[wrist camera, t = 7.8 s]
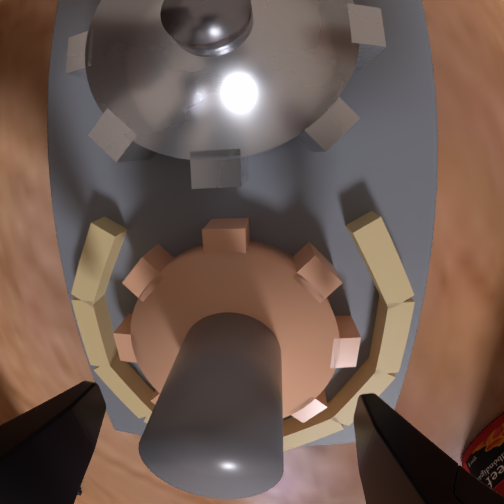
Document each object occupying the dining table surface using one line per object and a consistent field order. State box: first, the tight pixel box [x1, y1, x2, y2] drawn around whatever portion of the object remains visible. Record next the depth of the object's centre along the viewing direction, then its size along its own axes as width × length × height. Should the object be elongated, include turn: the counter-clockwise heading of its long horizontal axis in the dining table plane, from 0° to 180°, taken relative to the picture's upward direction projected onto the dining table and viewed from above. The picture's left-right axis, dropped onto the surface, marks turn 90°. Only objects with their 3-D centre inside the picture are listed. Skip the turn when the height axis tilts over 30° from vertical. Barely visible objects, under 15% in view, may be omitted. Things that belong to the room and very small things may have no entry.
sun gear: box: [66, 0, 386, 189], centre depth 7 cm, size 8×8×4 cm
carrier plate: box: [47, 0, 438, 451], centre depth 10 cm, size 14×21×2 cm, turn 2°
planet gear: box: [113, 218, 361, 499], centre depth 9 cm, size 8×8×6 cm
